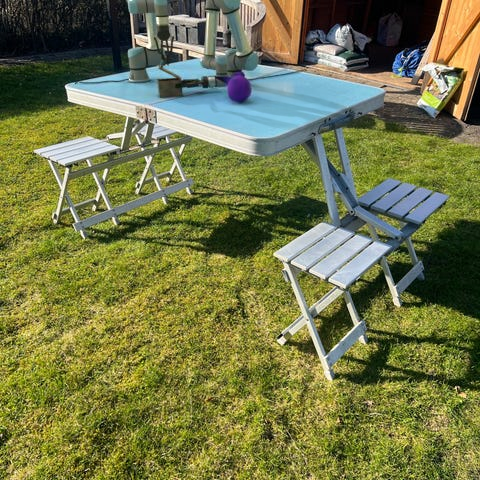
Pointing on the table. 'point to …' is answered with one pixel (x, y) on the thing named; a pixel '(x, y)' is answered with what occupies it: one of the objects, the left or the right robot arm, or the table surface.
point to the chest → (169, 87)
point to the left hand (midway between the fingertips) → (166, 65)
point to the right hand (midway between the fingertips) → (174, 84)
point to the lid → (168, 70)
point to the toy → (237, 86)
